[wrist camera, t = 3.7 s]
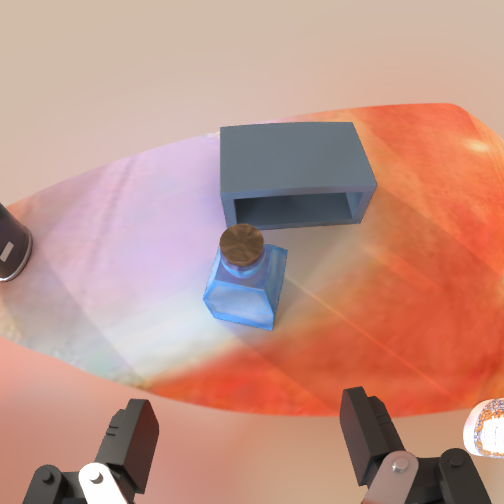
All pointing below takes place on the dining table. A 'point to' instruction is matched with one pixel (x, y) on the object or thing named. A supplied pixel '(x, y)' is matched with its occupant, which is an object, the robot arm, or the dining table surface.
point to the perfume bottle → (246, 278)
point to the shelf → (294, 175)
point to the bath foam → (486, 429)
